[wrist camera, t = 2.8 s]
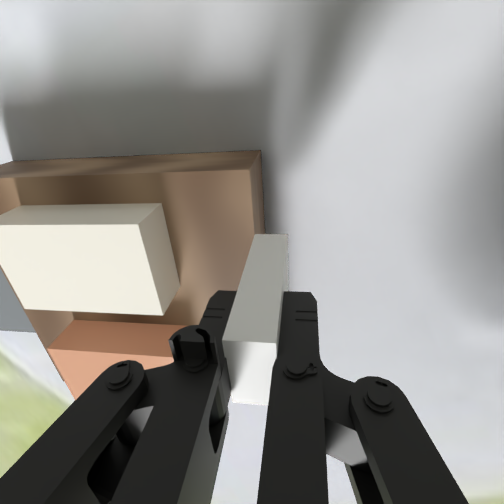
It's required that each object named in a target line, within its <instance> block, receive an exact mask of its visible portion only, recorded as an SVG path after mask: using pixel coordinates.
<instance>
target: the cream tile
mask: <svg viewBox="0 0 504 504" xmlns="http://www.w3.org/2000/svg"><path fill="white" fill-rule="evenodd" d="M0 265H1V267H2V269H3V270H4V272H5V274H6V276H7V278H8V280H9V281H10V283H11V285H12V287H13V289H14V290H15V292H16V294H17V296H18V298H19V299H20V301H21V303H22V305H23V307H24V308H25V309H34V310H55V311H77V312H98V313H120V314H141V315H164V313H165V312H166V310H167V308H168V306H169V305H170V303H171V301H172V300H173V298H174V296H175V295H176V293H177V291H178V289H179V288H180V282H179V278H178V273H177V269H176V265H175V260H174V256H173V251H172V247H171V243H170V238H169V234H168V229H167V225H166V221H165V216H164V212H163V207H162V203H139V204H80V205H21V206H19V207H16V208H14V209H12V210H10V211H8V212H6V213H4V214H1V215H0Z"/></svg>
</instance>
